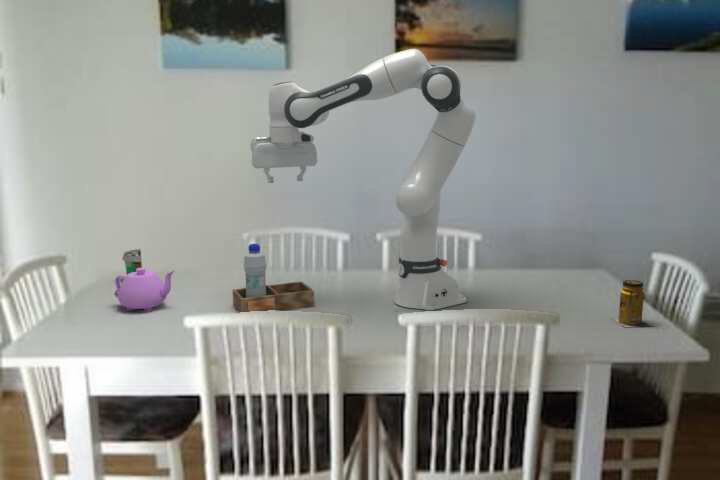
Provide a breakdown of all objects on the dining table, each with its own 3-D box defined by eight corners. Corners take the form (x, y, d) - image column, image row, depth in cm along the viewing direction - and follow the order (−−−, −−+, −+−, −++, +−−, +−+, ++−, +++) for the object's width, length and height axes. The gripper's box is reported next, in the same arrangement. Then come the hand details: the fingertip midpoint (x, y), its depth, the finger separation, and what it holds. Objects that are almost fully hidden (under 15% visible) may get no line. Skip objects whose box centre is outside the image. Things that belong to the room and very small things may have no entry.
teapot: (186, 301, 207) (184, 263, 205) (167, 315, 193) (165, 275, 191) (126, 299, 210) (123, 262, 207) (103, 312, 196) (100, 273, 193)
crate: (302, 296, 211) (301, 281, 210) (314, 306, 201) (314, 291, 200) (233, 305, 203) (232, 289, 202) (242, 316, 192) (241, 300, 191)
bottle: (263, 311, 196) (261, 246, 192) (242, 310, 197) (239, 245, 193) (270, 305, 202) (268, 241, 198) (250, 304, 204) (247, 241, 200)
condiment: (612, 319, 188) (615, 278, 185) (640, 318, 189) (644, 278, 186) (624, 327, 181) (628, 285, 178) (654, 326, 182) (658, 284, 179)
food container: (124, 276, 237) (122, 249, 235) (142, 275, 238) (140, 248, 236) (123, 285, 225) (121, 257, 223) (142, 284, 227) (140, 256, 225)
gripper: (253, 138, 194) (255, 184, 196) (318, 136, 202) (319, 181, 204) (248, 137, 199) (249, 182, 202) (311, 135, 207) (312, 179, 210)
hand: (285, 181), depth 203 cm, fingers open, 8 cm apart
